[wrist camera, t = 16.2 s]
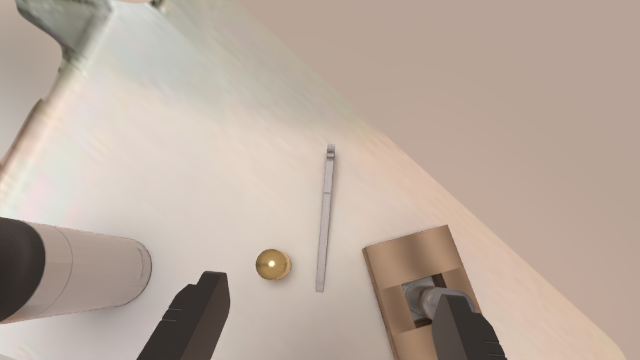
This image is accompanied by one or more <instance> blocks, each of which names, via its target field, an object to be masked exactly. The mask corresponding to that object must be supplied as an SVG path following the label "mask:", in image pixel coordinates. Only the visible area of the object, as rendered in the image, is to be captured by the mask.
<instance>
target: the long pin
mask: <svg viewBox="0 0 640 360" xmlns="http://www.w3.org/2000/svg"><path fill="white" fill-rule="evenodd" d="M442 294H450V295H461V296H465V297H466V299H467V301H468V303H469V306H470V308H471V311H472V312H475V313H476V309H475V305H474V302H473V301H472V299H471V298H470V297H469V295H467V294H466V293H465V292H463V291H461V290H457V289H449V288H441V287H433V286H426V285H413V286H411V287H410V288H409V289H408V290H407V292H406V299H407V302H408V305H409V308H410V309H411V310H412V311H414V312H416V313H418V314H420V315H423V316H425V317H427V318H429V319H431V320H433V317H434V314H435V311H436V308H437V305H438V302H439V299H440V296H441V295H442Z"/></svg>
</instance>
